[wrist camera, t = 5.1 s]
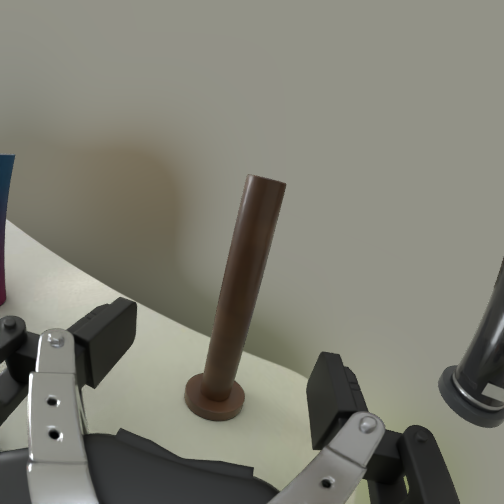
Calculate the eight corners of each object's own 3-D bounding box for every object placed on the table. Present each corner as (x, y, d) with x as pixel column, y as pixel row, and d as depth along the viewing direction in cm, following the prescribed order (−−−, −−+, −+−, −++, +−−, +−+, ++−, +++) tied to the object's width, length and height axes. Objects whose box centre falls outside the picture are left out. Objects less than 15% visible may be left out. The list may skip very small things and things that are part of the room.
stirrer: (244, 389, 21) (301, 189, 17) (238, 427, 16) (311, 188, 13) (192, 375, 21) (233, 172, 17) (177, 410, 16) (220, 166, 13)
